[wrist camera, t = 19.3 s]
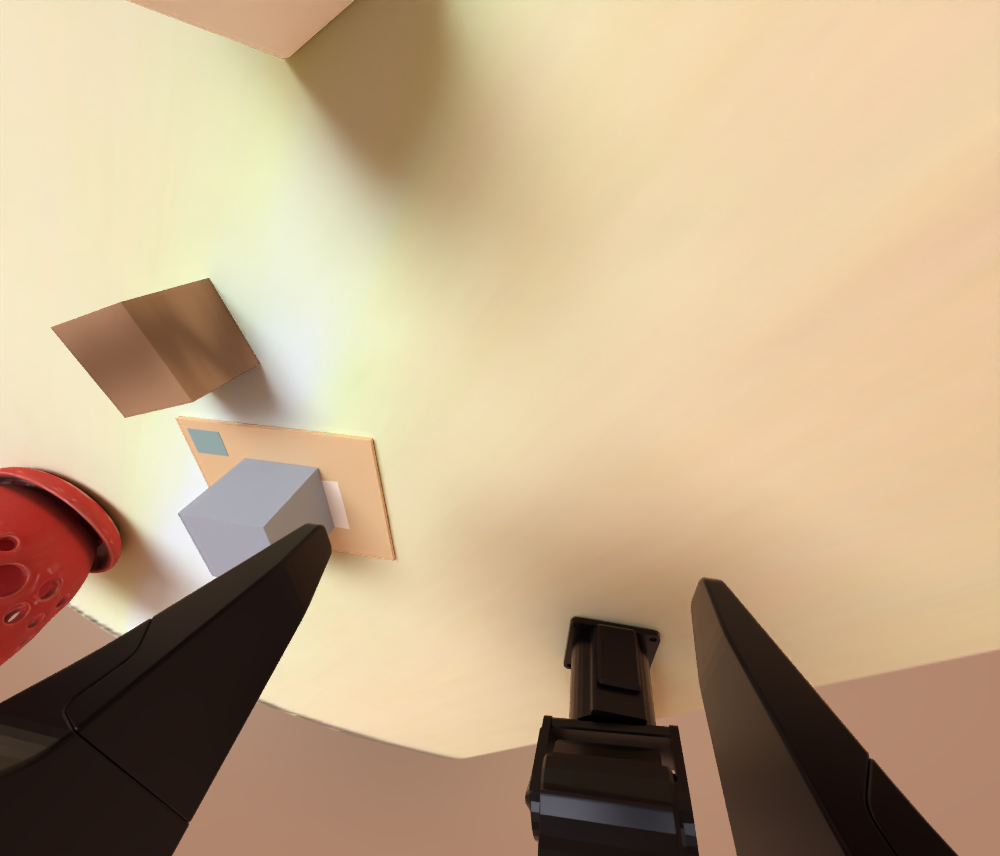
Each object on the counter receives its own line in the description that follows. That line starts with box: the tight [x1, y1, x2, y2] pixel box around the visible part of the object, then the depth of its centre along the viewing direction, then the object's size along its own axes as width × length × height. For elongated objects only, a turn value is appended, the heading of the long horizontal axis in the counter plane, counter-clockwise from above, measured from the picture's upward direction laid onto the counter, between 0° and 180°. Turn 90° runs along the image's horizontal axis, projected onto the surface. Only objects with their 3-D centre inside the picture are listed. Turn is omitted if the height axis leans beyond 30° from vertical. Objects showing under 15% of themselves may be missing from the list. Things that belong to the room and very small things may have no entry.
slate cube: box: [178, 458, 335, 577], centre depth 27 cm, size 6×6×6 cm
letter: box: [176, 416, 395, 561], centre depth 29 cm, size 11×14×1 cm
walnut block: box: [51, 278, 260, 418], centre depth 22 cm, size 5×5×5 cm
